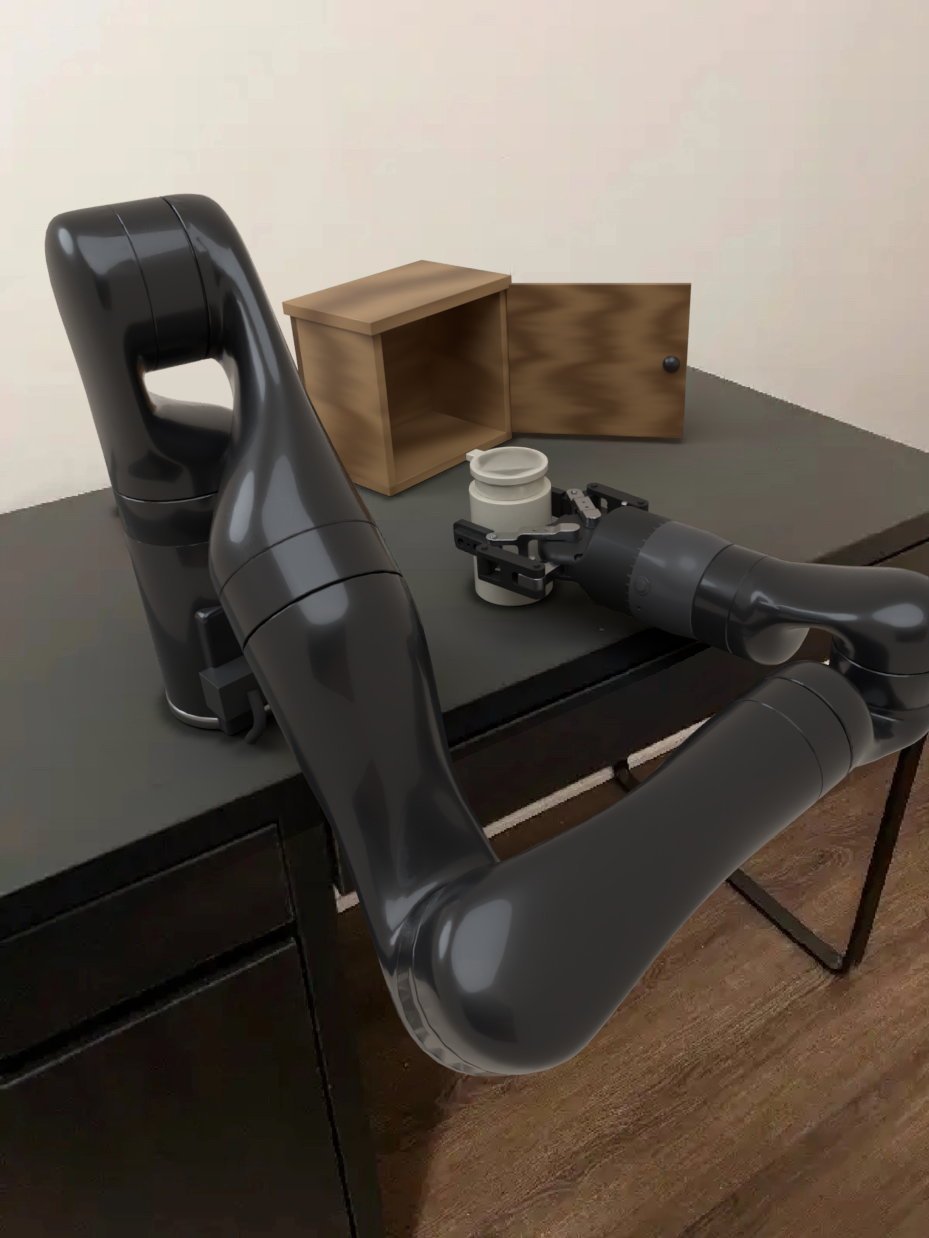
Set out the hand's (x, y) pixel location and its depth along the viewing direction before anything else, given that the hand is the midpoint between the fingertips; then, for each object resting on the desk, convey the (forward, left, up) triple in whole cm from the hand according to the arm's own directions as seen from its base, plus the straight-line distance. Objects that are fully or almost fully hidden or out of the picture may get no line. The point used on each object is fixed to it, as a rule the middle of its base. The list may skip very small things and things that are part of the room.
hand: (493, 511), depth 82 cm
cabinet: (+19, -17, -6) cm, 26 cm away
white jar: (-2, 0, -6) cm, 6 cm away
